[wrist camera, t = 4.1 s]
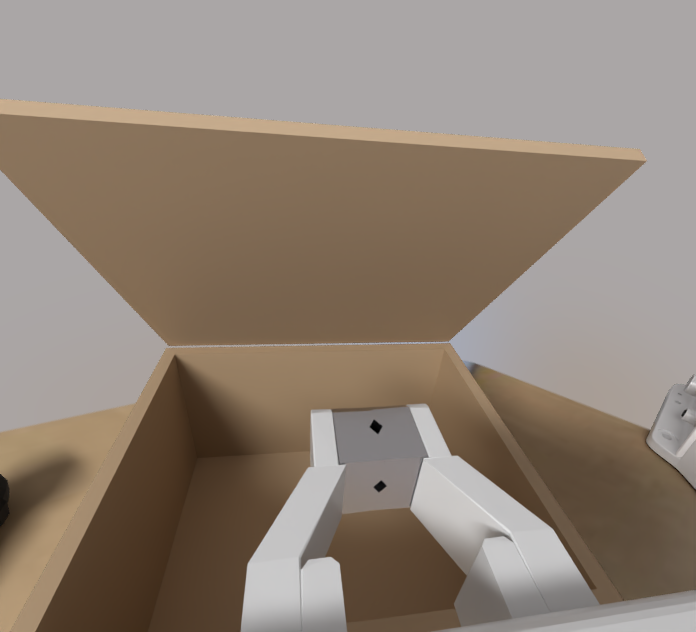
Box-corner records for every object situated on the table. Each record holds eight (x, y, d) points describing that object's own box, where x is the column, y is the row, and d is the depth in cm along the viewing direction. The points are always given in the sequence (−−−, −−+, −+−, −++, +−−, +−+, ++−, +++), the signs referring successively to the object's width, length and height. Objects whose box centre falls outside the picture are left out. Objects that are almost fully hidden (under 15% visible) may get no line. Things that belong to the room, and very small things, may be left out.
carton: (191, 456, 31) (166, 347, 25) (424, 442, 35) (450, 343, 29) (90, 790, 16) (-35, 711, 10) (528, 707, 19) (631, 611, 13)
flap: (168, 345, 25) (169, 338, 26) (448, 341, 28) (447, 334, 29) (-58, 109, 9) (-49, 95, 9) (646, 160, 12) (640, 148, 13)
